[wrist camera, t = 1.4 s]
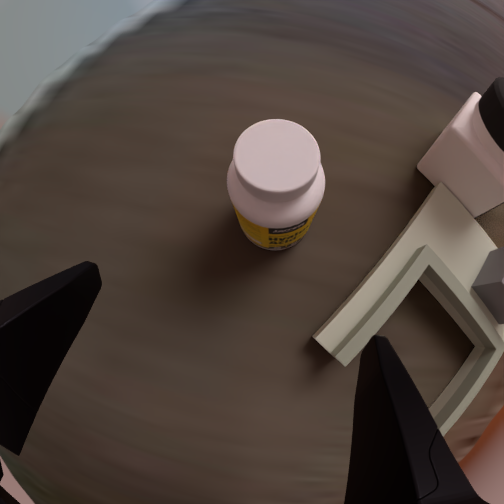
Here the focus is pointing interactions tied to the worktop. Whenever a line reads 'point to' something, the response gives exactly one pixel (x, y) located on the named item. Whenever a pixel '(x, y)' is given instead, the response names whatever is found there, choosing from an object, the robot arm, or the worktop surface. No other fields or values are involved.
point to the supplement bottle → (275, 182)
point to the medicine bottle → (472, 152)
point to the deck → (441, 287)
